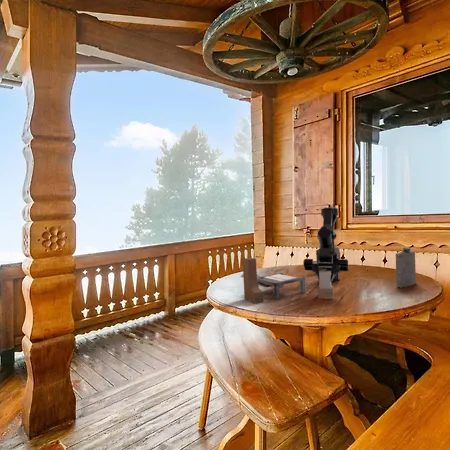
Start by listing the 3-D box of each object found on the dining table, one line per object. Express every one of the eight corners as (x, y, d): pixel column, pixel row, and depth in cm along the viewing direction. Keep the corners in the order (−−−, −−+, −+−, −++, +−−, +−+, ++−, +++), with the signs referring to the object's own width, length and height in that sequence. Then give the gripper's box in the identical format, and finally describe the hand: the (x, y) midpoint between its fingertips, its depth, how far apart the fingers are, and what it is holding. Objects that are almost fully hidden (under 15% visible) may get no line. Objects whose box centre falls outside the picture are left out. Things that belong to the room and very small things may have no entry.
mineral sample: (339, 270, 191) (338, 245, 190) (343, 271, 187) (343, 246, 186) (315, 273, 186) (314, 247, 185) (319, 274, 182) (319, 248, 181)
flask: (418, 283, 150) (417, 246, 149) (403, 288, 142) (402, 249, 141) (410, 282, 153) (409, 245, 152) (395, 287, 145) (394, 248, 144)
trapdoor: (278, 287, 137) (278, 281, 137) (261, 283, 147) (261, 277, 147) (297, 283, 144) (297, 277, 143) (279, 279, 154) (279, 273, 154)
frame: (276, 299, 134) (276, 283, 134) (254, 292, 148) (253, 277, 147) (305, 292, 144) (304, 277, 143) (281, 286, 157) (281, 272, 157)
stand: (319, 294, 139) (319, 285, 138) (333, 295, 136) (333, 286, 136) (318, 298, 133) (317, 289, 133) (332, 299, 131) (332, 289, 131)
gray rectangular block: (320, 286, 137) (320, 270, 137) (331, 286, 136) (330, 270, 135) (319, 288, 133) (319, 272, 133) (330, 289, 132) (330, 272, 131)
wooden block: (264, 301, 132) (262, 259, 131) (255, 303, 130) (253, 260, 129) (252, 297, 140) (250, 257, 139) (244, 299, 138) (242, 258, 137)
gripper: (303, 241, 141) (300, 269, 131) (347, 240, 134) (347, 270, 124) (306, 255, 149) (303, 284, 139) (348, 256, 141) (348, 285, 132)
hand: (325, 281), depth 133 cm, fingers closed on gray rectangular block, 4 cm apart
